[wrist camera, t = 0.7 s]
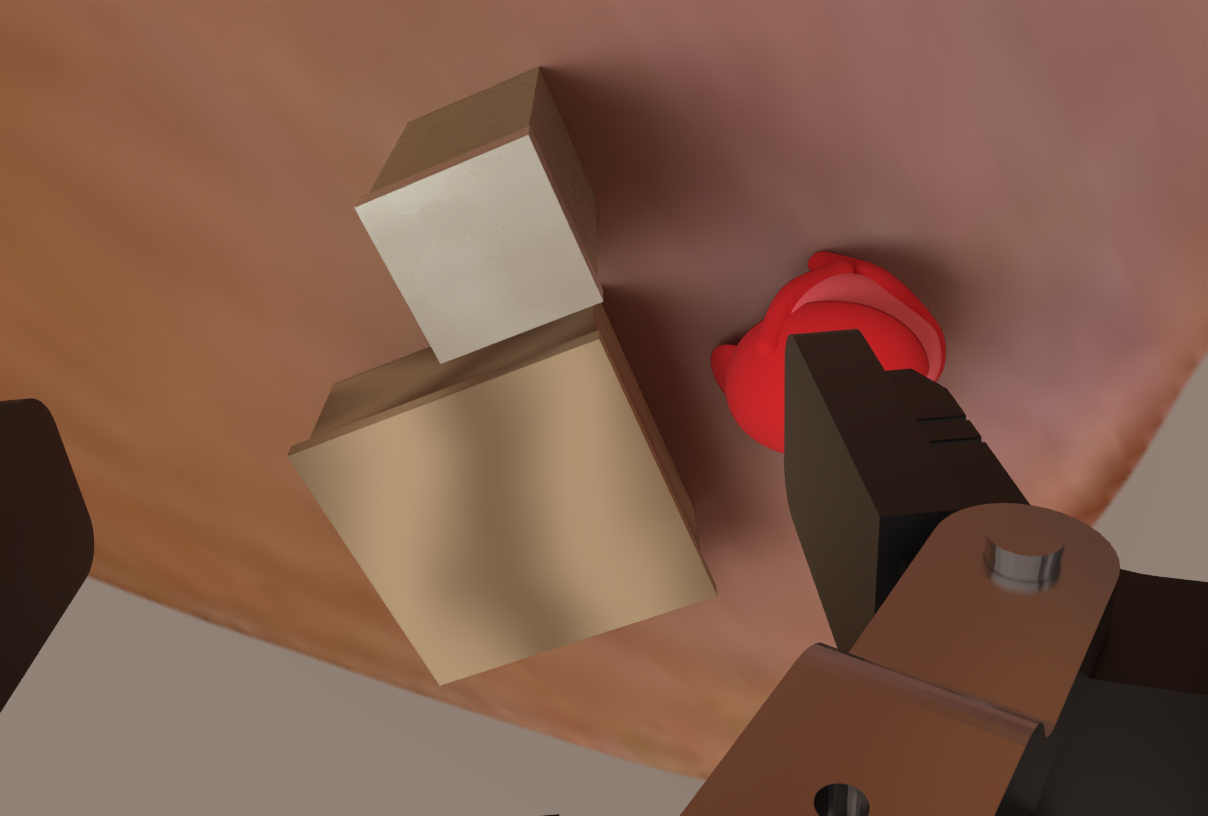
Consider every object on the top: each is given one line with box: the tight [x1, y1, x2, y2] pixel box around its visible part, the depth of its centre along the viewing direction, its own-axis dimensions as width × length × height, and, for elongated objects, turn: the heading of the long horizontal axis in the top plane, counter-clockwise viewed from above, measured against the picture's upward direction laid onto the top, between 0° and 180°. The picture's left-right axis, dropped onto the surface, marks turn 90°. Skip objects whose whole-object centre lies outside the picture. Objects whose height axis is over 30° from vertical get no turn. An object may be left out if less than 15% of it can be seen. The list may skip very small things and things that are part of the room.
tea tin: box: [355, 67, 603, 364], centre depth 30 cm, size 5×5×8 cm
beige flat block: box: [287, 303, 717, 685], centre depth 37 cm, size 11×11×5 cm
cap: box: [711, 251, 946, 454], centre depth 35 cm, size 8×6×6 cm
